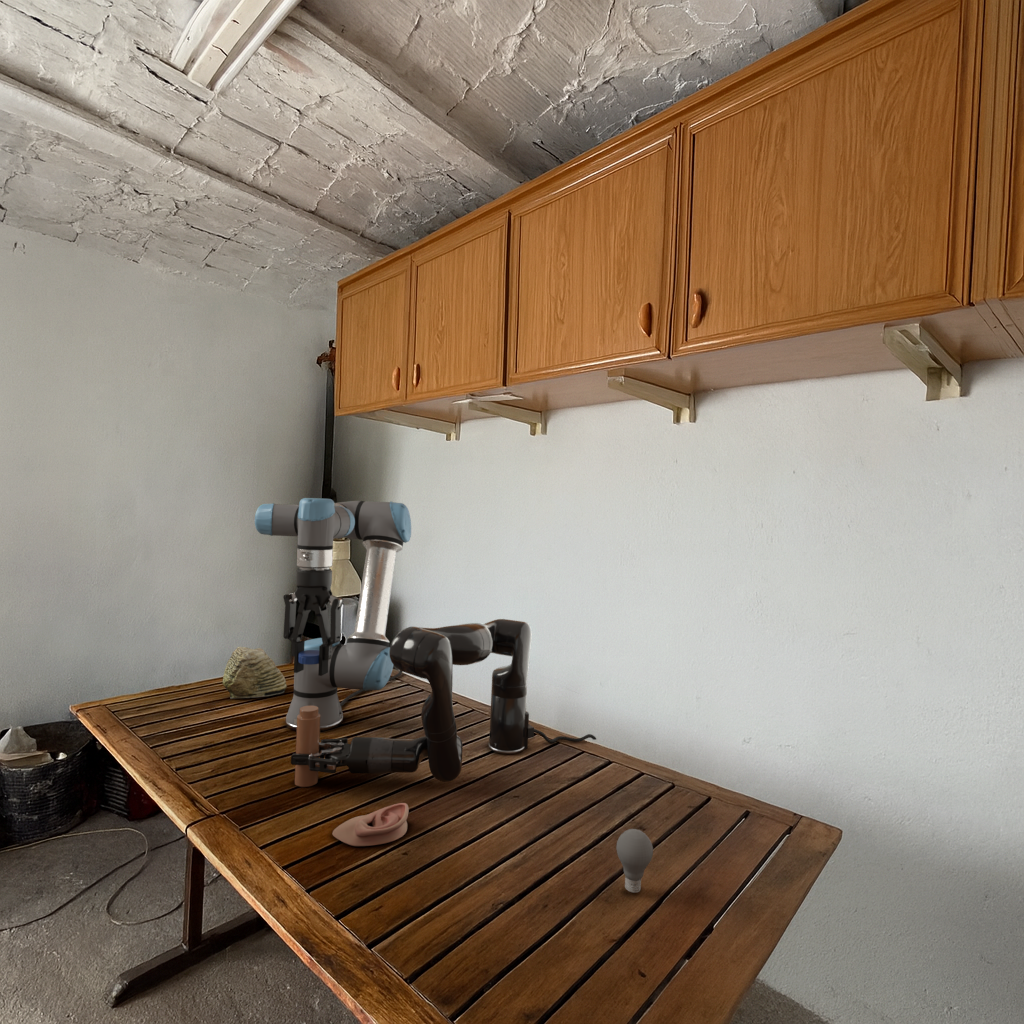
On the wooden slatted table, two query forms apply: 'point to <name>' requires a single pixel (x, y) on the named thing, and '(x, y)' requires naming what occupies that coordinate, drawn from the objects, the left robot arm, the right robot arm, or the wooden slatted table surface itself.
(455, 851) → the wooden slatted table surface
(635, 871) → the light bulb
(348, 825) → the anatomical model
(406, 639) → the right robot arm
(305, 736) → the brown tall cylinder
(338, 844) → the wooden slatted table surface
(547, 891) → the wooden slatted table surface
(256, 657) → the fossil
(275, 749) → the wooden slatted table surface
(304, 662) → the lid
